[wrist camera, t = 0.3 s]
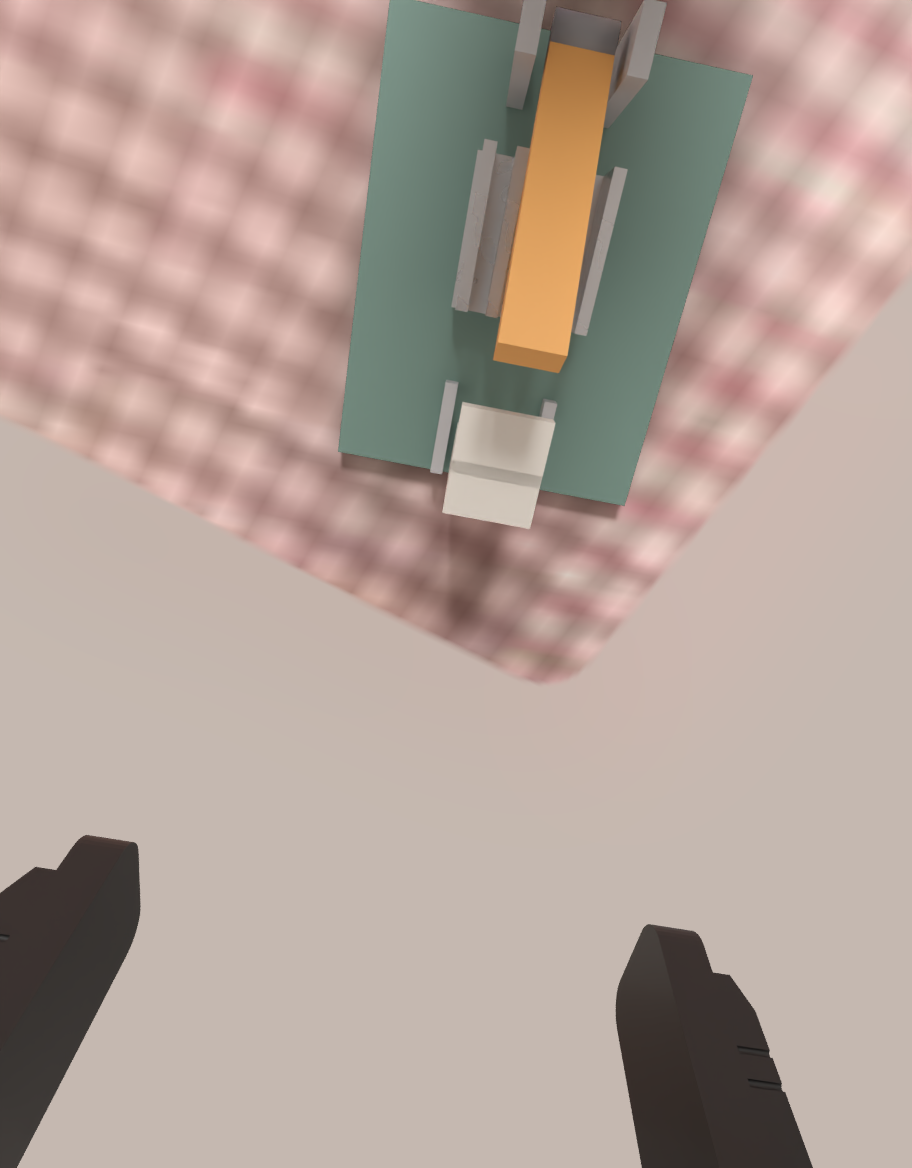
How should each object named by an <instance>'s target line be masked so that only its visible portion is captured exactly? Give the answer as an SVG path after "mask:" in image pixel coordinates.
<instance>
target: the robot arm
mask: <svg viewBox="0 0 912 1168" xmlns="http://www.w3.org/2000/svg"><path fill="white" fill-rule="evenodd" d="M139 916H140V884H139V854H138V846H137V844H136V843H134V842H129V841H122V840H116V839H109V838H102V837H96V836H90V835H85V836H83V837H82V838H80V839H79V840H78V841H77V842H76V843H75V845H74V846H73V847H72V849H71V850H70V851H69V853H68V854H67V856H66V857H65V859H64V860H63V861H62V863H61V864H60V866H59V867H58V868H57V870H52V869H45V868H39V867H35V868H34V869H32V870H31V871H29V872H28V873H27V874H25V875H24V876H23V877H21V878H20V879H18V880H17V881H16V882H14V883H13V884H12V885H10V886H9V887H8V888H6V889H5V890H4V891H3V892H1V893H0V1168H17V1166H18V1164H19V1162H20V1160H21V1158H22V1156H23V1155H24V1153H25V1151H26V1149H27V1147H28V1145H29V1143H30V1141H31V1139H32V1137H33V1135H34V1133H35V1131H36V1130H37V1128H38V1126H39V1124H40V1121H41V1120H42V1118H43V1116H44V1114H45V1112H46V1110H47V1108H48V1106H49V1104H50V1102H51V1100H52V1098H53V1096H54V1095H55V1093H56V1091H57V1089H58V1087H59V1085H60V1083H61V1081H62V1079H63V1077H64V1075H65V1073H66V1071H67V1069H68V1068H69V1066H70V1063H71V1062H72V1060H73V1058H74V1056H75V1054H76V1052H77V1050H78V1048H79V1046H80V1044H81V1042H82V1040H83V1039H84V1036H85V1034H86V1033H87V1031H88V1029H89V1027H90V1025H91V1023H92V1021H93V1019H94V1017H95V1015H96V1013H97V1011H98V1009H99V1008H100V1006H101V1004H102V1002H103V1000H104V998H105V996H106V994H107V992H108V990H109V988H110V986H111V984H112V982H113V980H114V979H115V977H116V974H117V973H118V971H119V969H120V967H121V965H122V963H123V961H124V959H125V957H126V955H127V953H128V951H129V949H130V947H131V944H132V942H133V939H134V936H135V933H136V929H137V926H138V922H139ZM616 1024H617V1031H618V1036H619V1042H620V1047H621V1053H622V1059H623V1064H624V1070H625V1075H626V1081H627V1086H628V1092H629V1098H630V1103H631V1109H632V1115H633V1120H634V1126H635V1132H636V1137H637V1143H638V1148H639V1154H640V1159H641V1165H642V1168H813V1167H812V1164H811V1162H810V1159H809V1156H808V1153H807V1150H806V1148H805V1145H804V1142H803V1140H802V1137H801V1134H800V1131H799V1129H798V1126H797V1123H796V1121H795V1118H794V1115H793V1113H792V1110H791V1107H790V1104H789V1102H788V1099H787V1096H786V1093H785V1092H783V1091H782V1088H781V1084H782V1083H781V1080H780V1077H779V1075H778V1072H777V1069H776V1066H775V1064H774V1061H773V1058H770V1056H769V1047H768V1045H767V1042H766V1039H765V1036H764V1034H763V1031H762V1028H761V1026H760V1023H759V1020H758V1017H757V1015H756V1012H755V1010H754V1009H753V1007H752V1006H751V1004H750V1003H749V1002H748V1000H747V999H746V997H745V996H744V995H743V993H742V992H741V990H740V989H739V988H738V986H737V985H736V983H735V982H734V981H733V979H732V978H731V976H730V975H725V974H719V973H713V972H712V969H711V966H710V963H709V960H708V957H707V954H706V951H705V948H704V945H703V942H702V940H701V938H700V937H699V935H698V934H697V933H696V932H694V931H688V930H683V929H676V928H670V927H663V926H657V925H650V924H648V925H646V926H645V927H644V928H643V930H642V933H641V935H640V937H639V939H638V941H637V944H636V946H635V948H634V950H633V953H632V955H631V957H630V960H629V962H628V964H627V967H626V969H625V971H624V973H623V976H622V978H621V980H620V983H619V986H618V991H617V998H616Z"/></svg>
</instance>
